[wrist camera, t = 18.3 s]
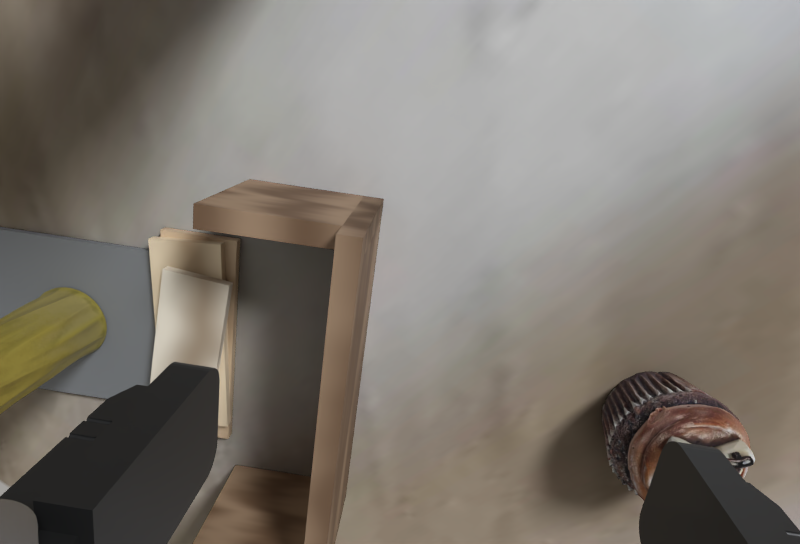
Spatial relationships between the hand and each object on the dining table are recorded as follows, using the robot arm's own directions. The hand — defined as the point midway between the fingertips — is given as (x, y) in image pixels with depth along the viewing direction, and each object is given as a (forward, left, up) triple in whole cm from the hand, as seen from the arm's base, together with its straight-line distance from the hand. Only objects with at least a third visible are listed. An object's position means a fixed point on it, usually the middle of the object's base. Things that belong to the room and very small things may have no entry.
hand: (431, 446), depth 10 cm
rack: (+2, -20, -32) cm, 38 cm away
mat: (-9, -31, -32) cm, 45 cm away
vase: (-9, -31, -32) cm, 45 cm away
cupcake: (+26, +3, -32) cm, 42 cm away
